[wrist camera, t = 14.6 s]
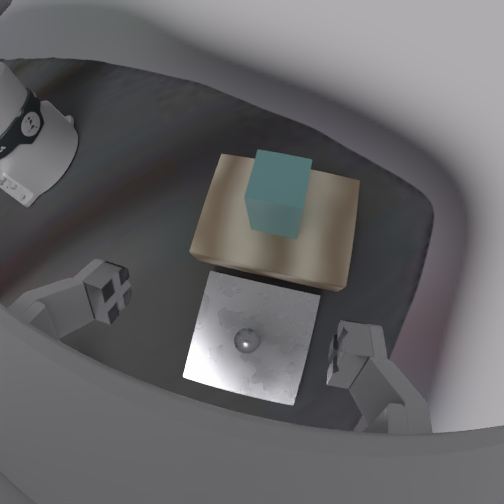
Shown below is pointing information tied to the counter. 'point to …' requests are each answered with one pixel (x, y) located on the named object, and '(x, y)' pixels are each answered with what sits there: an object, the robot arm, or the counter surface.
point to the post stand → (252, 338)
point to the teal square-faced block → (277, 193)
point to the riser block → (274, 246)
